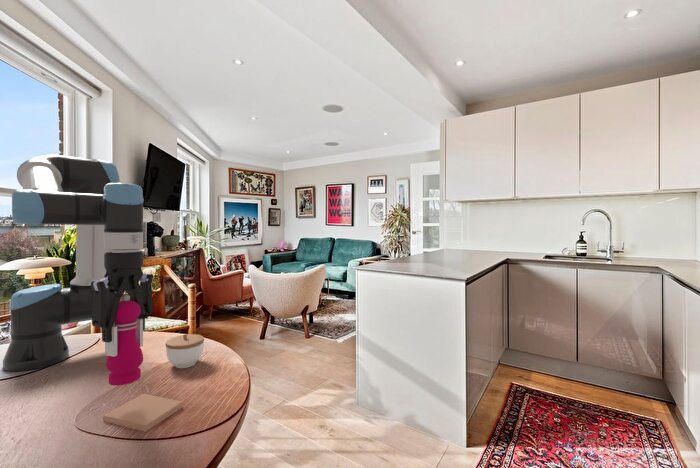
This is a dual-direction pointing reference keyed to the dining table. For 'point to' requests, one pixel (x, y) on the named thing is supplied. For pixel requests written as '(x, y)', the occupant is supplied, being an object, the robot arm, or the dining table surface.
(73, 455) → the dining table surface
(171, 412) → the tile
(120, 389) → the dining table surface
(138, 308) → the pepper mill
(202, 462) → the dining table surface
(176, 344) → the lidded jar
